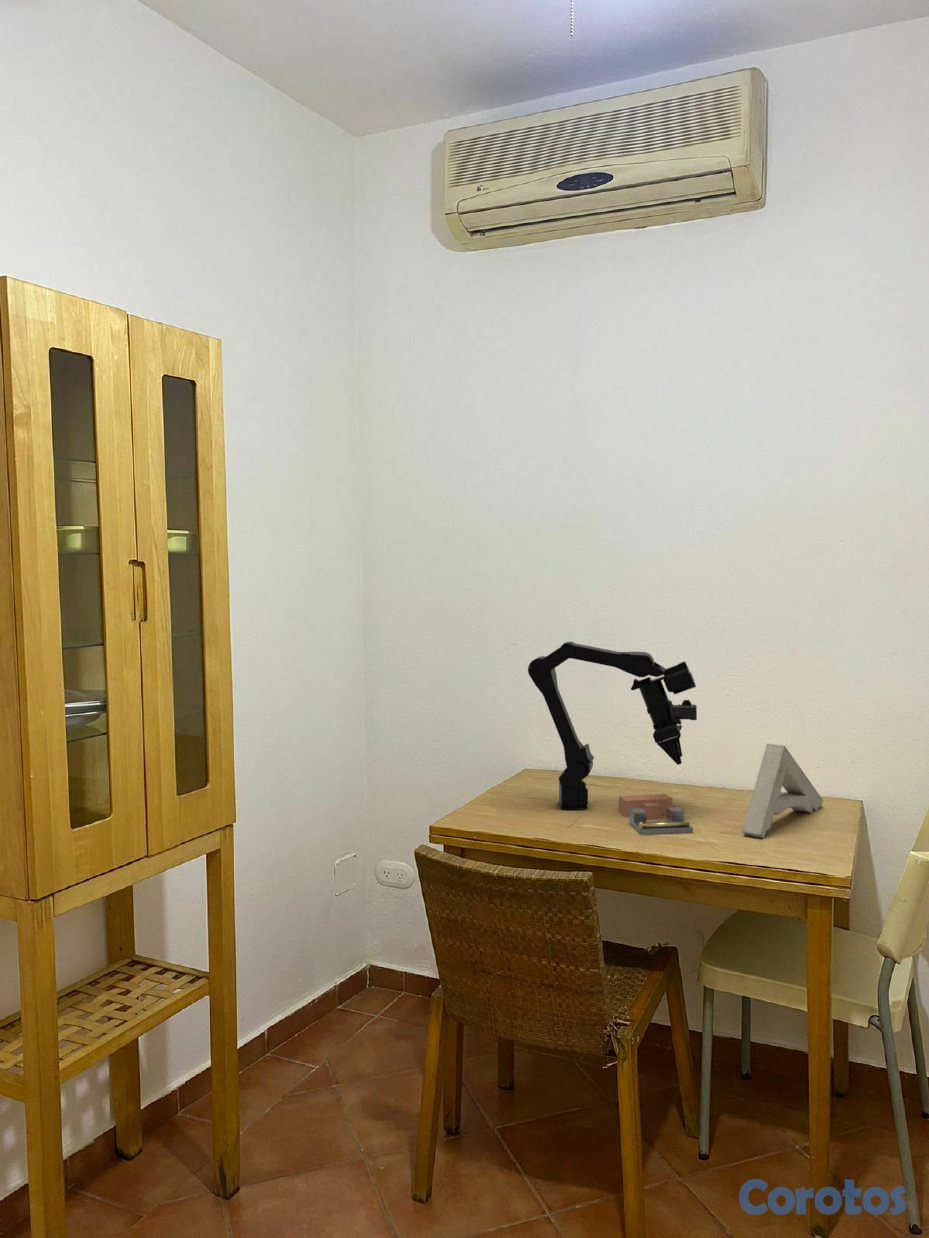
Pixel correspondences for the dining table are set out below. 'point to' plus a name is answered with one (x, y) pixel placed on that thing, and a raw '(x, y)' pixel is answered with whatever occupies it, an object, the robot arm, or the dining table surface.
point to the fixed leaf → (672, 816)
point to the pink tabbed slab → (646, 804)
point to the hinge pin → (662, 824)
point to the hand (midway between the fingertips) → (680, 760)
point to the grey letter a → (778, 791)
